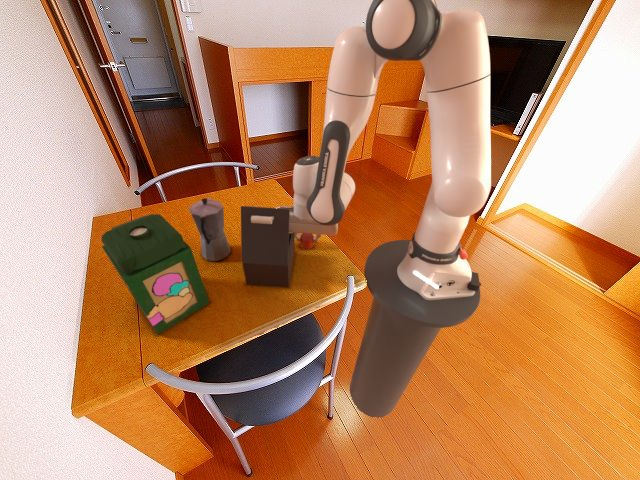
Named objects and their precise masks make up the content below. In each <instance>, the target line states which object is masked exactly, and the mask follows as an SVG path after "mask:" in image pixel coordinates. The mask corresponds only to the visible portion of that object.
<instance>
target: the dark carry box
mask: <svg viewBox="0 0 640 480" xmlns="http://www.w3.org/2000/svg"><path fill="white" fill-rule="evenodd" d="M295 243H296V242H295V237H294V233H291V232H289V252H288V265H272V264H257V263H242V262H241V264H242V269H243V274H244V279H245V285H251V286H264V287H265V286H266V287H279V288H281V287H282V288H289V287H290V283H291V279H292V278H291V277H292V273H293V265H294V261H295V255H296V253H295V251H296V250H295V249H296V247H295Z"/></svg>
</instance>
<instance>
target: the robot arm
mask: <svg viewBox="0 0 640 480" xmlns="http://www.w3.org/2000/svg"><path fill="white" fill-rule="evenodd" d="M488 37H489V36H488V31H487V27H486V23H485V19H484V17H483V15H482V14H481V13H480V12H479V11H477V10H475V9H458V10H455V11H452V12H449V13H443V12H441V11H440V10H439V9H438V5H437V2H436V0H372V1H371V4H370V6H369V7H368V11H367V14H366V17H365V26H351V27H348V28H347V29H345V30H343V31H341V32H340V34H339V35H338V36H337V38H336V39H335V43H334V45H333V46H334V47H333V50H332V55H331V58H330V64H329V69H328V76H327V81H326V82H327V83H326V93H325V106H324V118H323V119H324V121H323V128H322V129H323V130H322V139H321V146H320V152H319V156H317V155H307V156H303V157H301V158H299V159H298V160H297V161H296V162H295V164H294V166H293V171H292V189H293V192H294V193H293V198H292V201H293V203H292V205H279V206H276V208H283V209H290V220H289V233H294V239H295V243H301V234H302V233H307V234H313V236H314V237H313V244H318V240H319V239H320V238H321V237H322V235H325V236H336V235H337V234H338V233H339V231H338V230H339V223H340V222H341V221H342V219H343V217H344V215H345V211H346V210H347V208H348V206H349V204H350V203H351V200H352V199H353V197H354V195H355V192H356V182H355V181H354V178H353V177H352V176H351V175H350V174H349V173H348V172H345V170H346V165H347V162H348V158H349V155H350V153H351V150H352V148H353V146H354V145H355V143H356V141H357V139H358V138H359V137H360V135H361V134H362V132H363V130H364V129H365V127H366V126H367V123H368V121H369V118H370V117H371V113H372V110H373V108H374V104H375V99H376V96H377V95H376V94H377V89H378V84H379V81H380V80H379V79H380V77H381V76H380V75H381V72H382V70H383V68H384V66H385V64H387V62H389V61H393V62H402V61H410V62H412V61H413V62H417V61H418V62H420V64H421V65H422V68H423V72H424V79H425V88H426V89H425V90H426V98H427V99H426V100H427V111H428V119H429V120H428V121H429V130H430V160H431V161H430V162H431V163H430V164H431V184H430V188H429V189H428V194H427V196H426V199H425V203H424V206H423V209H422V213H421V215H420V218H419V221H418V224H417V228H416V230H415V231H414V233H413V234H412V237H411V239H410V240H411V241H410V244H409V248H408V252H407V254H406V256H405V258H404V259H403V261H402V262H401V263H400V264H399V266H398V268H397V274H398V277H399V279H400V280H401V281H402V283H403V284H405V285H406V286H407V287H408V288H410V289H412V290H414V291H415V292H417V293H419V294H420V295H421V296H422V297H423V298H424V299H426V300H439V299H449V298H459V297H469V296H473V295H474V293H475V291H476V292H477V290H478V289H479V288H480V287H482V283H481V281H480V277H479V273H478V272H475V271H472V269H471V266H470V263H469V262H468V258H469V255H468V253H467V251H466V250H465V249H463V246H462V244H461V242H460V241H461V239H462V237H463V235H464V232H465V230H466V228H467V227H468V225H469V221H470V217H471V216H472V215H474V214H477V213H478V212H479V211H480V210H481V209H482V208H483V207H484V206H485V204H486V202H487V200H488V198H489V195H490V192H491V190H492V143H491V142H492V140H491V139H492V138H491V137H492V136H491V53H490V45H489V38H488ZM431 295H432V296H431Z"/></svg>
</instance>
